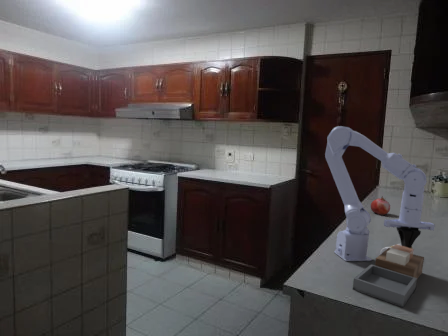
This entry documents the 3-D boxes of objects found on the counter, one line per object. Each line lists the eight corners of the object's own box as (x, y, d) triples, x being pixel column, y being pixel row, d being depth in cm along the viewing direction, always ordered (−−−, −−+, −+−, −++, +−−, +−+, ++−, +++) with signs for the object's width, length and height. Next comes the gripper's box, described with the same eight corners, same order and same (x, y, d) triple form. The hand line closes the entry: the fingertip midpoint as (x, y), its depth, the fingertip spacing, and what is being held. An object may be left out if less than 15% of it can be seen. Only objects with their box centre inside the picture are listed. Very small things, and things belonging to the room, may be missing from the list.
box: (369, 273, 98) (370, 264, 97) (415, 288, 90) (417, 278, 90) (352, 289, 87) (353, 278, 87) (402, 307, 79) (404, 295, 79)
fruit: (370, 210, 183) (372, 193, 182) (389, 213, 179) (391, 195, 178) (369, 214, 175) (371, 195, 174) (389, 217, 171) (391, 198, 170)
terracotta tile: (394, 251, 103) (395, 244, 103) (412, 256, 100) (413, 249, 100) (390, 255, 100) (391, 247, 99) (408, 261, 96) (409, 252, 96)
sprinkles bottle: (397, 247, 119) (376, 253, 111) (406, 239, 116) (385, 244, 108) (407, 257, 116) (386, 264, 108) (416, 250, 114) (396, 256, 106)
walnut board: (386, 262, 108) (388, 247, 107) (421, 272, 101) (424, 257, 101) (373, 274, 98) (375, 258, 97) (411, 286, 91) (414, 269, 90)
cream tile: (390, 256, 100) (391, 248, 99) (409, 261, 96) (410, 253, 96) (385, 260, 96) (386, 251, 96) (404, 265, 93) (405, 257, 92)
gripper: (427, 206, 105) (421, 247, 107) (381, 203, 105) (376, 244, 107) (441, 212, 98) (434, 255, 100) (392, 208, 98) (386, 252, 100)
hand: (405, 250), depth 103 cm, fingers closed
